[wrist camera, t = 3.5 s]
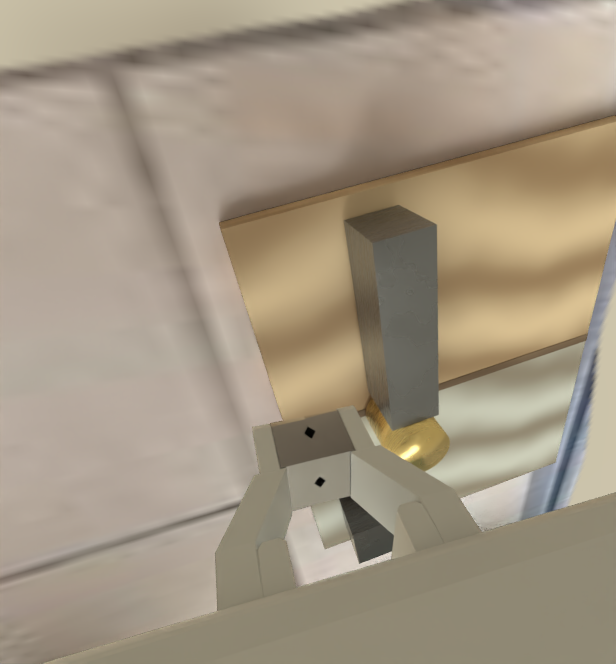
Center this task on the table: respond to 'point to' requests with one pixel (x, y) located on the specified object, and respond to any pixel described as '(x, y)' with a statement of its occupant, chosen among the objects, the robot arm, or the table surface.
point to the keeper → (365, 531)
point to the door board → (447, 297)
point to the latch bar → (399, 329)
